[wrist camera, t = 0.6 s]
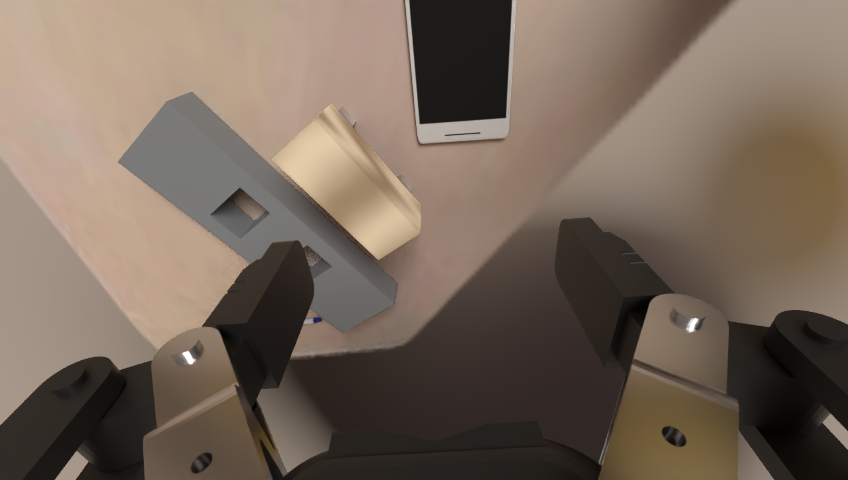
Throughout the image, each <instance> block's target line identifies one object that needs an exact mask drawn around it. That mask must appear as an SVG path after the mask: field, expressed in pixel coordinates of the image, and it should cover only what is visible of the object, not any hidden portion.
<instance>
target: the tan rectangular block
mask: <svg viewBox="0 0 848 480" xmlns="http://www.w3.org/2000/svg"><path fill="white" fill-rule="evenodd" d="M354 124H355V121H354V119H353V118H352V117H351V116H350V115H349V114H348V112H347V111H346V110H345V109H344V108H343V107H342V108H341V109H340V110H339V111H338V110H337V109H336V108H335V107H334V106H333V105H332V103H331V104H330V105H328V106H327V107H326V108H325V109H324V110H323V111H322V112H321V113H320V114H319V115H318V116H317V117H315V118H314V119H313V120H312V121H311V122H310V123H309V124H308V125H307V126H306V127H305V128H304V129H302V130H301V131H300V132H299V133H298V134H297V135H296V136H295V137H294V138H293V139H292V140H291V141H290V142H289V143H288V144H287V145H286V146H285V147H284V148H283V149H281V150H280V151H279V152H278V153H277V154H276V155H275V156H274V157H273V158H272V160H273V161H274V162H275V163H276V164H277V165H278V166H279V167H280V168H281V169H282V170H283V171H285V172H286V173H287V174H288V175H289V176H290V177H291V178H292V179H293V180H294V181H295V182H296V183H297V184H298V185H299V186H300V187H301V188H303V189H304V190H305V191H306V192H307V193H308V194H309V195H310V196H311V197H312V198H313V199H314V200H315V201H316V202H317V203H318V204H320V205H321V206H322V207H323V208H324V209H325V210H326V211H327V212H328V213H329V214H330V215H331V216H332V217H333V218H334V219H335V220H336V221H338V222H339V223H340V224H341V225H342V226H343V227H344V228H345V229H346V230H347V231H348V232H349V233H350V234H351V235H352V236H353V237H354V238H356V239H357V240H358V241H359V242H360V243H361V244H362V245H363V246H364V247H365V248H366V249H367V250H368V251H369V252H370V253H371V254H372V255H374V256H375V257H376V258H377V259H378V260H379V259H381V258H383V257H384V256H386V255H387V254H389V253H390V252H392V251H394V250H395V249H397V248H398V247H400V246H401V245H403V244H404V243H406V242H408V241H409V240H411V239H412V238H414V237H415V236H417V235H419V234H420V229H421V212H422V206H421V204H420V203H419V202H418V201H417V200H416V199H415V198H414V197H413V195H412V194H411V189H412V186H411V185H410V184H409V183H408V182H407V180H406V179H405V178H404V177H403V176H402V175H400V176H399V177H398V178H397V177H396V176H395V175H394V174H393V173H392V172H391V170H390V169H389V168H388V167H387V166H386V165H385V164H384V162H383V161H382V160H381V159H380V158H379V157H378V156H377V155H376V153H375V152H374V151H373V150H372V149H371V148H370V147H369V145H368V144H367V143H366V142H365V141H364V140H363V139H362V138H361V136H360V135H359V134H358V133H357V132H356V131H355V130H354V128H353V125H354Z"/></svg>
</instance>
